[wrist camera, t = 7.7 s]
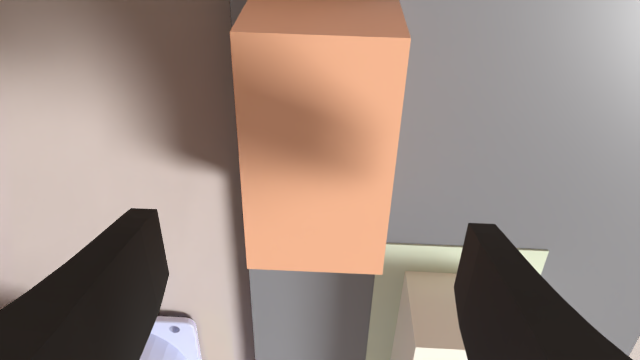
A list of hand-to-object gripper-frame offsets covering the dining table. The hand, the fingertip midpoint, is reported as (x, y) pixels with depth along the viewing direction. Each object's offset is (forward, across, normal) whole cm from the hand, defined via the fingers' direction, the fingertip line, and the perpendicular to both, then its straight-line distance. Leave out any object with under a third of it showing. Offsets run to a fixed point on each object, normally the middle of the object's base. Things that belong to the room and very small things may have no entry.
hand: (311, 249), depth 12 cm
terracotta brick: (+8, 0, 0) cm, 8 cm away
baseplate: (+8, -6, +6) cm, 12 cm away
